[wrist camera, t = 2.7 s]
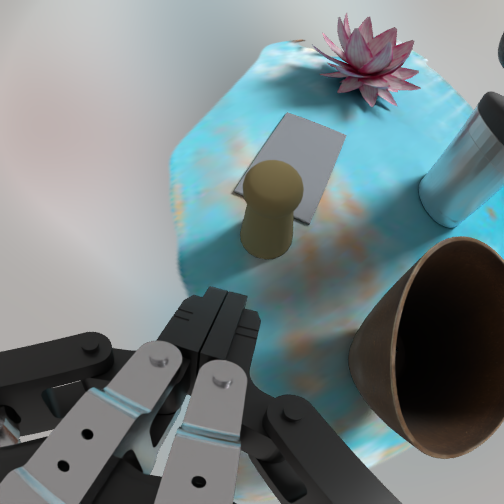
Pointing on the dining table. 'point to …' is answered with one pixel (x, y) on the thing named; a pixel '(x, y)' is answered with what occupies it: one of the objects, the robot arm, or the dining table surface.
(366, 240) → the dining table surface
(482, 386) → the plant pot
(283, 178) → the cork
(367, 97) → the decorative flower
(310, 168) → the mat
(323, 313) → the dining table surface
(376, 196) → the dining table surface
